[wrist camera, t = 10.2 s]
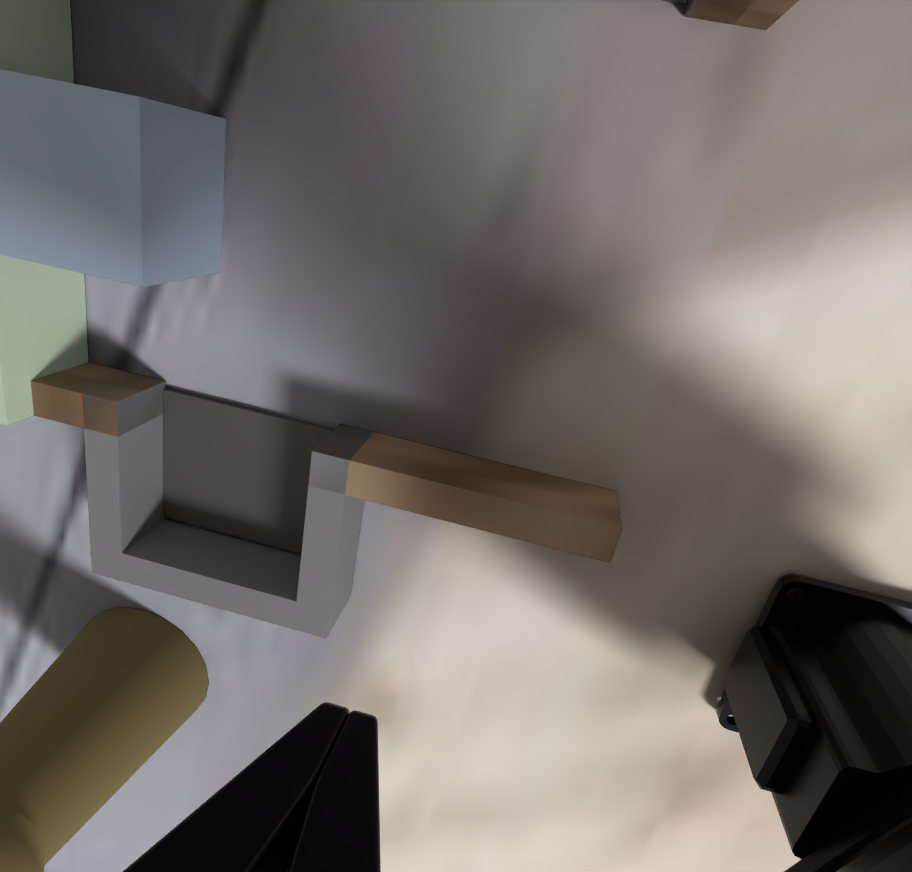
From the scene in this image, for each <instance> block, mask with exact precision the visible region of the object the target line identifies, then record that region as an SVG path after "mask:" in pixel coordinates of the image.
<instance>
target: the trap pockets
mask: <svg viewBox="0 0 912 872" xmlns="http://www.w3.org/2000/svg"><path fill="white" fill-rule="evenodd" d="M663 1H669V2H676V3H682V4H686V3H687V0H663ZM691 1H692V0H689V2H688V6H687V9H686V12H685V15H686V16H687V17H689V16H690V15H691V14H690V13H691V12H692V11H691V10H693V9H694V11H693V13H695V9H696V7H693V5H694V4H695V3H696V4H695V6H697V2H698V3H699V2H700V1H699V0H697V1H695V0H693V1H692V2H693V3H694V4H693V3H692V2H691ZM709 1H710V0H709ZM701 2H702V0H701ZM701 2H700V3H699V5H700V4H701ZM703 2H704V1H703ZM711 2H712V1H711ZM721 2H722V1H721ZM717 3H718V2H717ZM692 4H693V5H692ZM702 4H703V3H702ZM712 4H713V3H712ZM719 4H720V3H719ZM699 5H698V8H699ZM705 5H706V3H705ZM715 5H716V4H715ZM690 6H692V7H690ZM701 6H702V5H701ZM701 6H700V7H701ZM720 7H721V6H720ZM689 8H691V9H690V10H689ZM692 8H693V9H692ZM701 8H702V7H701ZM701 8H700V9H701ZM706 8H708V7H706ZM706 8H705V9H706ZM703 9H704V8H703ZM709 9H710V8H709ZM723 9H724V8H723ZM687 10H688V11H687ZM698 10H699V9H698ZM698 10H697V11H698ZM690 11H691V12H690ZM703 11H704V10H703ZM707 11H708V10H707ZM687 12H688V13H689V12H690V13H689V14H690V15H689V14H688V15H687V14H686V13H687ZM697 13H698V12H697ZM703 13H705V12H703ZM707 13H708V12H707ZM701 14H702V12H701ZM705 14H706V13H705ZM692 15H693V14H692ZM695 16H697V15H695ZM703 16H704V15H703ZM701 17H702V16H701ZM691 18H692V17H691ZM695 18H696V17H695ZM698 18H699V17H698ZM706 20H707V19H706ZM708 20H709V19H708ZM162 384H163V385H162ZM162 386H165V387H162ZM155 387H156V388H155ZM149 389H150V388H149ZM149 389H146V390H144V391H142V392H139V393H137V394H135V395H132V396H133V397H132V396H130V397H128V398H125V399H123V401H122V400H121V401H118V402H117V404H116V405H117V406H116V408H117V409H116V408H115V409H116V410H117V411H116V415H115V414H114V413H113V414H114V416H117V417H115V418H117V419H115V418H114V417H113V418H114V419H115V420H116V421H117V424H115V426H116V425H117V426H116V427H117V428H116V427H115V429H114V430H117V431H118V435H117V434H116V433H117V432H115V436H113V435H114V432H112V434H113V435H110V434H108V433H107V434H105V433H101V432H99V431H98V430H99V429H98V428H99V427H98V428H97V430H96V431H95V430H93V428H94V426H93V428H92V430H89V428H87V427H88V426H87V425H90V424H89V423H90V422H91V420H92V419H93V418H97V416H98V415H99V414H100V415H101V413H102V412H103V411H101V410H99V409H101V408H102V409H104V408H105V409H106V406H107V405H106V402H103V403H105V405H106V406H105V405H104V406H105V407H103V406H102V405H103V403H102V402H100V401H98V402H97V403H98V404H99V402H100V403H102V404H101V405H100V404H99V405H100V406H102V407H100V406H99V405H98V404H97V403H96V399H95V398H96V397H94V398H93V397H91V396H89V395H88V396H89V397H87V396H85V395H83V394H82V396H83V397H84V396H85V398H84V399H86V402H85V403H86V404H87V405H85V406H87V411H86V408H84V409H83V411H84V410H85V411H86V412H87V413H88V411H90V410H88V409H91V408H92V407H93V406H92V404H93V405H94V404H95V403H96V404H97V406H98V407H97V408H96V409H98V410H99V412H100V411H101V412H100V413H99V412H98V413H99V414H97V416H95V417H93V416H94V414H93V410H92V409H91V411H92V414H93V415H92V414H91V411H90V413H89V414H87V413H86V414H87V415H88V416H90V414H91V415H92V417H93V418H92V419H91V418H90V417H91V416H90V417H88V416H87V415H86V418H88V419H89V418H90V419H89V421H90V422H89V421H88V419H86V420H85V418H84V420H85V421H88V422H85V421H84V420H83V421H84V423H86V424H87V425H86V424H85V426H84V427H86V428H87V429H86V428H84V439H85V457H86V474H87V492H88V510H89V527H90V545H91V563H92V573H95V574H99V575H102V576H106V577H109V578H113V579H116V580H120V581H123V582H127V583H131V584H134V585H138V586H141V587H145V588H148V589H152V590H156V591H159V592H163V593H166V594H170V595H173V596H177V597H181V598H184V599H188V600H191V601H195V602H198V603H202V604H206V605H209V606H213V607H216V608H220V609H223V610H227V611H231V612H234V613H238V614H241V615H245V616H248V617H252V618H255V619H259V620H263V621H266V622H270V623H273V624H277V625H280V626H284V627H288V628H291V629H295V630H298V631H302V632H305V633H309V634H313V635H316V636H320V637H323V638H327V636H328V635H329V633H330V631H331V629H332V628H333V626H334V624H335V622H336V620H337V619H338V617H339V615H340V613H341V612H342V610H343V608H344V606H345V605H346V603H347V601H348V599H349V597H350V596H351V589H352V582H353V575H354V569H355V562H356V555H357V548H358V541H359V534H360V527H361V520H362V513H363V506H364V500H363V499H359V498H355V497H351V496H347V495H345V491H346V488H345V487H346V484H347V477H346V476H348V471H347V470H348V468H349V461H350V460H349V459H351V458H352V457H353V455H355V454H356V452H357V451H358V450H359V449H360V448H361V447H362V446H363V444H364V443H365V442H366V441H367V440H368V439H369V438H370V436H371V435H372V434H373V433H374V432H371V431H367V430H363V429H359V428H358V429H357V428H354V427H351V426H349V428H348V426H347V425H346V426H345V425H344V426H345V427H344V426H342V425H343V424H340V425H339V426H341V427H342V428H341V427H339V426H338V427H339V428H336V429H331V428H327V427H323V426H319V425H315V424H311V423H307V422H303V421H299V420H295V419H291V418H286V417H282V416H278V415H274V414H270V413H266V412H262V411H258V410H254V409H250V408H246V407H242V406H238V405H234V404H230V403H225V402H221V401H217V400H213V399H209V398H205V397H201V396H197V395H193V394H189V393H185V392H181V391H177V390H173V389H168V388H166V381H165V382H163V383H161V384H158V385H156V386H154V387H151V389H152V390H151V389H150V390H149ZM161 389H162V390H163V391H162V390H161ZM159 390H160V391H161V392H160V391H159ZM158 391H159V392H158ZM147 392H148V393H147ZM155 393H156V394H155ZM157 393H158V394H159V393H160V394H161V395H158V394H157ZM154 394H155V396H156V395H157V397H158V398H157V397H155V396H154ZM139 396H140V397H139ZM83 397H82V401H85V400H84V399H83ZM86 397H87V398H86ZM150 397H151V398H150ZM152 397H153V399H152ZM88 398H89V399H88ZM90 398H91V400H93V399H94V400H93V401H95V402H94V403H93V401H90ZM92 398H93V399H92ZM138 398H139V399H138ZM87 399H88V400H89V404H91V403H92V404H91V405H90V406H92V407H91V408H89V407H90V406H89V405H88V402H87ZM99 399H101V400H102V401H104V400H105V399H102V398H99ZM99 399H98V398H97V400H99ZM149 399H150V400H152V401H155V402H157V403H155V402H152V401H151V402H150V401H149ZM156 399H158V400H156ZM159 399H161V400H159ZM144 400H145V401H144ZM108 401H110V400H108ZM108 401H107V404H108ZM141 401H142V402H141ZM158 401H159V402H158ZM90 402H91V403H90ZM110 402H112V401H110ZM137 402H138V403H137ZM147 402H148V403H147ZM112 403H114V401H113V402H112ZM149 403H153V404H151V405H150V404H149ZM158 403H159V405H160V404H161V405H160V406H159V405H158ZM82 404H83V403H82ZM114 404H115V403H114ZM124 404H125V405H124ZM154 404H155V406H154ZM108 405H109V406H110V407H112V406H113V405H112V404H108ZM111 405H112V406H111ZM141 405H143V406H144V407H145V408H146V407H148V408H149V409H148V408H146V409H145V408H144V407H143V406H141ZM146 405H148V406H146ZM149 405H150V406H149ZM157 405H158V406H159V407H157ZM88 406H89V407H88ZM94 406H95V405H94ZM109 406H107V408H108V407H109ZM151 406H152V407H153V406H154V407H155V408H154V407H153V408H152V407H151ZM163 406H164V407H163ZM83 407H84V406H83ZM95 407H96V406H95ZM110 407H109V408H110ZM114 407H115V405H114ZM114 407H112V408H114ZM156 407H157V408H156ZM93 409H94V408H93ZM105 409H104V411H105ZM153 409H155V411H154V410H153ZM107 410H109V409H107ZM107 410H106V411H107ZM110 410H111V411H112V409H110ZM110 410H109V411H110ZM141 410H143V412H142V411H141ZM146 410H148V411H146ZM149 410H150V412H149ZM156 410H157V411H156ZM95 411H96V412H97V410H95ZM106 411H105V412H106ZM109 411H107V412H106V413H105V414H107V413H108V412H109ZM140 411H141V412H140ZM144 411H145V412H146V413H147V415H148V414H149V413H150V414H149V415H148V417H147V415H146V414H145V412H144ZM112 412H114V411H112ZM124 412H126V413H124ZM127 412H128V413H127ZM139 412H140V413H139ZM151 412H152V413H151ZM153 412H156V413H155V414H154V415H153ZM163 412H164V413H163ZM84 413H85V412H84ZM103 413H104V412H103ZM134 413H135V414H134ZM143 413H144V414H143ZM138 414H139V415H140V414H141V415H140V416H139V415H138ZM83 415H84V414H83ZM95 415H96V413H95ZM130 415H131V416H130ZM142 415H143V416H146V417H147V418H146V417H142ZM151 415H152V416H151ZM155 415H156V417H155ZM101 416H103V415H101ZM101 416H98V417H100V420H101ZM106 416H107V417H106V418H104V417H105V416H104V417H103V418H104V419H109V418H111V417H109V418H108V415H106ZM109 416H110V414H109ZM112 416H113V415H112ZM127 416H128V417H127ZM149 416H150V417H149ZM84 417H85V415H84ZM138 417H139V419H138ZM140 417H141V418H142V420H143V421H142V422H141V421H140V419H141V418H140ZM103 418H102V420H101V421H103ZM113 418H111V419H113ZM127 418H128V419H127ZM136 418H137V419H136ZM145 418H146V419H145ZM121 419H122V420H121ZM133 419H134V420H133ZM135 419H136V420H137V421H138V422H137V421H135ZM147 419H148V420H147ZM149 419H150V420H149ZM97 420H98V419H97ZM97 420H96V419H95V423H96V421H97ZM100 420H98V421H99V422H100ZM109 420H110V419H109ZM109 420H108V421H109ZM115 420H114V421H115ZM128 420H129V421H128ZM105 421H107V420H105ZM116 421H115V422H116ZM131 421H132V423H131ZM134 421H135V422H134ZM147 421H148V422H147ZM93 422H94V421H93ZM99 422H97V423H96V424H97V425H99ZM111 422H113V421H112V420H111V421H110V422H109V423H110V424H111ZM115 422H114V423H115ZM109 423H108V424H107V423H105V422H104V421H103V424H100V425H101V426H102V425H103V426H104V424H106V425H107V426H108V427H109ZM136 423H139V424H140V425H139V424H137V425H136ZM142 423H144V424H142ZM93 424H94V423H93ZM128 424H131V425H132V426H130V425H128ZM94 425H95V424H94ZM97 425H96V427H97ZM100 425H99V426H100ZM106 425H105V428H106ZM134 425H135V426H134ZM138 425H139V426H138ZM90 426H92V424H91V425H90ZM101 426H100V427H101ZM103 426H102V427H103ZM113 427H114V426H113ZM131 427H134V429H133V428H132V429H131ZM350 427H351V428H350ZM103 428H104V427H103ZM121 428H122V429H121ZM345 428H346V429H345ZM352 428H354V429H355V430H354V429H352ZM90 429H91V428H90ZM107 429H108V428H107ZM107 429H100V430H103V431H104V432H106V431H107ZM111 429H112V428H111ZM337 429H338V430H337ZM339 429H340V430H339ZM342 429H344V430H342ZM349 429H350V430H351V431H352V430H353V431H352V432H351V431H349ZM356 429H357V430H356ZM105 430H106V431H105ZM112 430H113V429H112ZM122 430H123V431H127V432H122ZM335 430H336V431H335ZM346 430H347V431H348V432H347V431H346ZM97 431H98V432H97ZM339 431H340V432H339ZM342 431H344V434H343V432H342ZM355 431H356V432H355ZM366 431H367V432H366ZM110 432H111V431H110ZM110 432H109V433H110ZM332 432H334V433H332ZM335 432H336V433H335ZM368 432H369V433H368ZM337 433H339V434H338V435H339V436H340V435H341V434H342V435H341V436H340V437H339V436H338V435H337ZM340 433H341V434H340ZM351 433H352V434H351ZM357 433H358V434H359V435H358V434H357ZM363 433H364V434H363ZM334 434H335V436H333V437H332V435H334ZM345 434H346V435H347V436H346V435H345ZM348 434H349V436H350V437H352V438H350V437H349V436H348ZM370 434H371V435H370ZM116 435H117V436H118V437H116ZM119 435H120V436H119ZM353 435H355V436H353ZM361 435H362V436H361ZM330 436H331V437H330ZM356 436H357V437H358V436H359V437H358V438H360V439H358V438H356ZM327 437H330V438H327ZM341 437H342V438H341ZM343 437H344V438H343ZM361 437H362V438H361ZM325 438H327V439H326V440H327V441H326V440H324V439H325ZM336 438H337V439H336ZM338 438H339V439H338ZM345 438H346V439H345ZM348 438H349V439H351V440H349V439H348ZM354 438H355V439H356V440H355V439H354ZM330 439H331V440H330ZM333 439H336V440H333ZM363 439H364V441H363ZM323 440H324V441H326V443H325V442H324V443H322V442H323ZM328 440H329V441H330V442H329V441H328ZM332 440H333V441H332ZM345 440H346V441H345ZM359 440H361V441H362V442H363V443H362V442H361V441H359ZM334 441H335V442H336V443H337V444H338V445H339V444H340V445H339V446H341V447H339V448H340V449H339V448H338V449H339V450H341V449H342V450H343V451H344V453H343V452H342V451H341V452H342V454H341V453H340V452H339V453H336V452H333V454H334V455H336V454H337V455H336V457H337V456H338V454H339V456H341V455H344V454H345V455H346V456H345V455H344V456H345V458H343V457H344V456H343V457H339V456H338V457H337V458H336V457H335V456H334V455H333V456H330V455H328V454H330V453H328V454H327V455H326V453H325V454H322V452H321V451H320V452H321V453H320V452H319V453H318V451H319V450H321V449H322V450H324V448H325V447H326V448H327V443H328V446H329V447H330V446H331V447H332V446H334V445H335V446H336V443H334ZM337 441H338V442H337ZM342 441H343V442H342ZM348 441H349V442H350V443H349V442H348ZM353 441H354V443H353ZM332 442H333V444H332ZM341 442H342V443H343V445H342V443H341ZM359 442H360V443H359ZM345 443H346V444H345ZM351 443H352V444H351ZM356 443H357V444H356ZM320 444H321V445H320ZM330 444H331V445H330ZM348 444H349V445H348ZM350 444H351V445H352V446H353V447H351V445H350ZM319 445H320V446H319ZM323 445H324V446H325V447H324V446H323ZM338 445H337V446H338ZM346 445H347V447H346ZM355 445H356V446H355ZM357 445H358V446H359V447H360V448H359V447H358V446H357ZM317 446H319V447H324V448H319V447H317ZM335 446H334V447H333V448H335ZM316 447H317V448H318V450H317V449H316ZM329 447H328V448H329ZM342 447H343V448H342ZM349 447H351V448H349ZM328 448H327V449H328ZM347 448H348V449H347ZM357 448H358V449H357ZM314 449H315V451H316V452H314ZM331 449H332V448H331ZM331 449H328V450H331ZM344 449H345V450H344ZM351 449H352V450H351ZM353 449H354V450H353ZM356 449H357V450H356ZM328 450H327V452H329V451H328ZM335 450H336V449H335ZM339 450H338V451H339ZM324 451H325V450H324ZM338 451H337V452H338ZM346 451H348V452H346ZM349 451H350V452H349ZM352 452H353V453H352ZM331 453H332V451H331ZM335 453H336V454H335ZM347 453H348V454H347ZM351 453H352V454H351ZM315 454H316V455H315ZM321 454H322V455H321ZM340 454H341V455H340ZM348 455H350V456H349V457H348ZM322 456H323V457H322ZM328 456H329V457H328ZM317 458H318V459H317ZM327 460H328V461H327ZM340 460H341V461H340ZM338 461H339V462H338ZM345 461H347V462H345ZM318 462H319V463H318ZM331 462H332V464H331ZM337 462H338V463H339V464H340V465H339V464H338V463H337ZM321 463H323V464H321ZM345 463H347V464H345ZM334 464H335V465H334ZM344 464H345V465H344ZM322 465H323V466H322ZM326 466H328V467H326ZM333 467H334V469H333ZM336 467H337V468H336ZM326 468H327V469H326ZM341 468H342V469H343V470H342V469H341ZM312 469H313V470H312ZM322 469H323V470H322ZM330 469H331V470H330ZM339 469H341V470H339ZM344 469H345V470H344ZM325 470H326V471H325ZM333 470H334V471H333ZM324 471H325V472H324ZM335 471H336V472H335ZM343 471H344V472H343ZM345 471H346V472H345ZM312 472H313V473H312ZM330 472H331V473H330ZM337 472H338V473H337ZM317 473H319V475H317ZM320 473H321V474H322V476H321V474H320ZM327 473H330V474H327ZM332 473H333V475H332ZM342 473H343V474H342ZM338 474H339V475H338ZM346 474H347V475H346ZM334 475H335V476H334ZM341 475H342V476H341ZM345 475H346V476H345ZM314 476H315V477H314ZM316 476H318V477H316ZM324 476H325V479H326V480H325V479H324ZM329 476H330V477H329ZM331 476H332V477H331ZM338 476H340V478H339V477H338ZM335 477H336V479H335ZM341 477H344V478H341ZM312 478H313V479H314V480H313V479H312ZM322 478H323V479H324V481H323V479H322ZM331 478H332V479H331ZM337 478H338V479H337ZM315 479H316V480H320V481H321V482H320V481H315ZM333 479H334V480H333ZM342 479H343V480H342ZM310 480H312V481H310ZM329 480H330V481H329ZM331 480H332V481H331ZM335 480H336V481H335ZM337 480H340V481H337ZM327 481H329V482H327ZM334 481H335V482H336V483H337V482H339V483H338V484H336V483H335V482H334ZM318 482H319V483H318ZM323 482H324V483H323ZM344 482H345V483H346V484H345V485H342V484H344ZM309 483H311V484H309ZM312 483H313V484H312ZM320 483H321V484H320ZM325 483H326V484H327V485H325ZM328 483H329V484H330V486H331V485H332V486H331V487H329V484H328ZM341 483H342V484H341ZM323 484H324V485H323ZM334 484H335V486H338V487H335V486H333V485H334ZM310 485H312V486H310ZM316 485H318V486H316ZM319 485H320V486H319ZM340 485H341V486H340ZM344 486H345V487H344ZM321 487H322V489H321ZM328 487H329V488H328ZM333 487H334V489H332V488H333ZM343 487H344V488H343ZM323 488H324V489H323ZM336 488H338V489H337V491H336V492H334V491H335V489H336ZM326 489H328V490H326ZM330 489H331V490H330ZM340 489H341V490H340ZM343 489H344V490H343ZM339 490H340V491H339ZM342 490H343V491H342ZM338 491H339V492H338ZM341 491H342V492H341ZM343 493H344V494H343ZM166 517H167V518H171V519H175V520H179V521H182V522H186V523H190V524H194V525H197V526H201V527H205V528H209V529H212V530H216V531H220V532H223V533H227V534H231V535H235V536H238V537H242V538H246V539H250V540H253V541H257V542H261V543H265V544H268V545H272V546H276V547H280V548H283V549H287V550H291V551H295V552H298V553H301V555H297V554H294V553H290V552H286V551H282V550H279V549H275V548H271V547H267V546H264V545H260V544H256V543H252V542H249V541H245V540H241V539H238V538H234V537H230V536H226V535H223V534H219V533H215V532H211V531H208V530H204V529H200V528H196V527H193V526H189V525H185V524H182V523H178V522H174V521H170V520H167V519H166Z"/></svg>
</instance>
